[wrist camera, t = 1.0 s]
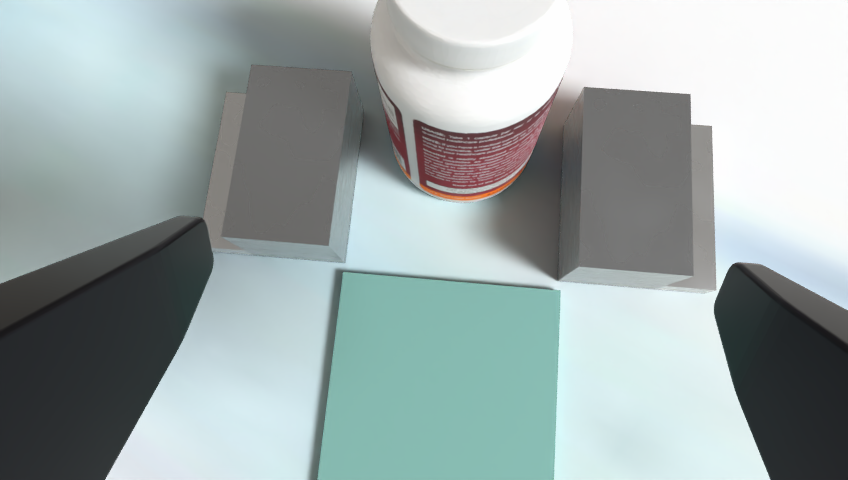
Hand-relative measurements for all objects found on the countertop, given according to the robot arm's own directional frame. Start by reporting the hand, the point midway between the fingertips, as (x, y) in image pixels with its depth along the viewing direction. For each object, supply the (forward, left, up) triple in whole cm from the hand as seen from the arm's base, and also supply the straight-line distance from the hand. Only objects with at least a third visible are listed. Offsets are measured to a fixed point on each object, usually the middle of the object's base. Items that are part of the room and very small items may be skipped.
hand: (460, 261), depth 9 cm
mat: (-2, -2, -13) cm, 14 cm away
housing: (+3, +4, -13) cm, 14 cm away
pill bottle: (+5, +6, -14) cm, 16 cm away
